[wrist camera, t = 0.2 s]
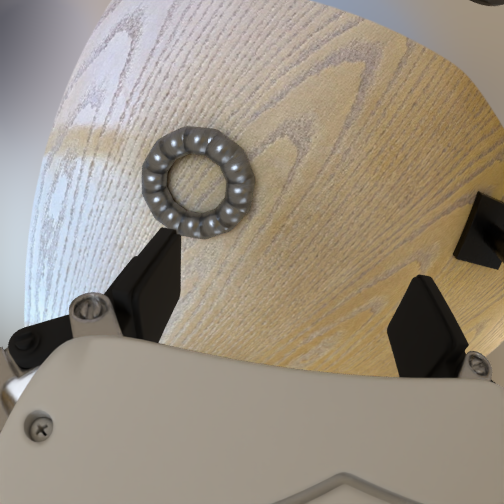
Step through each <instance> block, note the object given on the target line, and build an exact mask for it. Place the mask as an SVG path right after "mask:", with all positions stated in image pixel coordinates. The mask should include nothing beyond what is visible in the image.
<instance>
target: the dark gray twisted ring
mask: <svg viewBox="0 0 504 504" xmlns="http://www.w3.org/2000/svg"><path fill="white" fill-rule="evenodd" d="M187 154H196V155H204V156H206V157H208V158H209V159H210V160H212V161H213V162H215V163H216V164H217V165H218V166H220V168H221V171H222V173H223V175H224V177H225V180H226V182H227V184H226V192H225V198H224V199H223V201H222V202H221V203H220V204H219V206H218V207H217V208H216V209H214V210H211V211H208V212H205V213H196V212H190V211H186V210H185V209H184V208H182V207H181V206H180V205H178V204H177V203H176V202H174V200H173V198H172V196H171V194H170V192H169V190H168V188H167V172H168V170H169V169H170V167H171V166H172V164H173V162H174V161H175V160H176V159H178V158H180V157H183V156H185V155H187ZM254 184H255V177H254V174H253V172H252V169H251V167H250V164H249V162H248V159H247V157H246V155H245V152H244V150H243V149H242V148H241V147H240V146H239V145H237V144H236V143H235V142H233V141H232V140H231V139H229V138H228V137H227V136H225V135H224V134H223V133H221V132H220V131H218V130H216V129H210V128H201V127H191V126H186V127H182V128H180V129H178V130H176V131H174V132H172V133H170V134H168V135H166V136H164V137H162V138H160V139H159V140H157V141H156V143H155V144H154V146H153V148H152V149H151V151H150V152H149V154H148V156H147V157H146V159H145V161H144V163H143V165H142V195H143V197H144V199H145V201H146V203H147V205H148V207H149V209H150V210H151V212H152V214H153V216H154V218H155V219H156V220H158V221H159V222H160V223H162V224H163V225H164V226H166V227H167V228H169V229H174V230H176V231H177V234H180V235H181V236H187V237H192V238H198V239H208V238H211V237H214V236H217V235H220V234H223V233H226V232H229V231H231V230H232V229H233V228H234V227H235V226H236V225H237V224H238V223H239V222H240V220H241V219H242V218H243V217H244V216H245V215H246V213H247V212H248V211H249V210H250V208H251V203H252V197H253V190H254Z"/></svg>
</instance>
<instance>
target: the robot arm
mask: <svg viewBox="0 0 504 504" xmlns="http://www.w3.org/2000/svg"><path fill="white" fill-rule="evenodd" d="M180 291H181V235H180V234H177V231H176V230H174V229H169V228H163V227H162V228H160V230H159V231H158V232H157V233H156V234H155V236H154V237H153V238H152V239H151V240H150V242H149V243H148V244H147V245H146V246H145V248H144V249H143V250H142V251H141V252H140V254H139V255H138V256H135V257H133V258H132V259H131V261H130V262H129V263H128V264H127V266H126V267H125V268H124V269H123V271H122V272H121V273H120V274H119V276H118V277H117V278H116V279H115V281H114V282H113V283H112V284H111V286H110V287H109V288H108V290H107V291H106V292H105V294H101V293H95V292H91V293H85V294H82V295H80V296H78V297H77V298H75V299H74V300H73V301H72V302H71V304H70V307H69V315H65V316H62V317H59V318H55V319H52V320H48V321H45V322H42V323H38V324H35V325H31V326H28V327H24V328H22V329H20V330H18V331H17V332H15V333H14V334H13V336H12V337H11V338H10V341H9V344H8V348H6V349H5V350H4V349H3V347H0V504H504V388H503V387H502V386H500V385H498V384H496V383H495V382H493V381H492V380H491V376H492V367H491V365H490V363H489V361H488V360H487V359H486V357H485V356H483V355H482V354H481V353H479V352H476V351H470V352H468V353H467V354H466V353H465V349H466V348H467V347H468V345H469V344H468V342H467V340H466V338H465V336H464V334H463V332H462V330H461V329H460V327H459V325H458V323H457V321H456V319H455V317H454V315H453V314H452V312H451V310H450V308H449V306H448V305H447V303H446V301H445V299H444V298H443V296H442V294H441V292H440V291H439V289H438V287H437V286H436V284H435V282H434V281H433V279H432V278H431V277H430V276H425V275H417V276H416V277H414V278H413V279H412V280H411V282H410V285H409V287H408V289H407V291H406V293H405V295H404V297H403V299H402V301H401V303H400V305H399V306H398V308H397V310H396V312H395V314H394V316H393V318H392V320H391V321H390V323H389V325H388V328H387V334H388V337H389V341H390V344H391V347H392V351H393V354H394V358H395V362H396V365H397V369H398V373H399V377H382V376H365V375H352V374H340V373H329V372H320V371H311V370H303V369H295V368H287V367H280V366H273V365H267V364H260V363H254V362H248V361H242V360H237V359H231V358H226V357H221V356H216V355H211V354H206V353H201V352H196V351H192V350H187V349H183V348H179V347H174V346H169V345H164V344H160V343H158V342H159V340H160V338H161V336H162V333H163V331H164V329H165V327H166V325H167V323H168V321H169V319H170V316H171V314H172V312H173V310H174V308H175V306H176V304H177V302H178V300H179V297H180Z"/></svg>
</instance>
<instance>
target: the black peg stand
mask: <svg viewBox="0 0 504 504" xmlns="http://www.w3.org/2000/svg"><path fill="white" fill-rule="evenodd" d="M453 255H454V256H455V258H456V259H459V260H463V261H467V262H471V263H474V264H478V265H482V266H486V267H490V268H493V269H497V270H498V269H499V267H500V265H501V263H502V262H503V263H504V203H503V202H501V201H499V200H497V199H495V198H493V197H490V196H488V195H486V194H484V193H481V192H479V191H478V193H477V196H476V199H475V201H474V204H473V207H472V210H471V212H470V215H469V217H468V220H467V223H466V225H465V228H464V230H463V232H462V235H461V237H460V239H459V242H458V244H457V246H456V249H455V251H454V253H453Z"/></svg>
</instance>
